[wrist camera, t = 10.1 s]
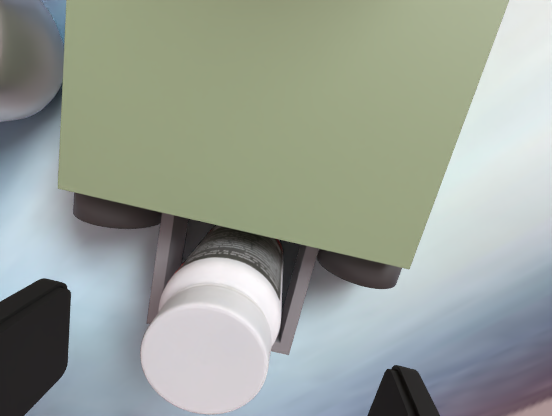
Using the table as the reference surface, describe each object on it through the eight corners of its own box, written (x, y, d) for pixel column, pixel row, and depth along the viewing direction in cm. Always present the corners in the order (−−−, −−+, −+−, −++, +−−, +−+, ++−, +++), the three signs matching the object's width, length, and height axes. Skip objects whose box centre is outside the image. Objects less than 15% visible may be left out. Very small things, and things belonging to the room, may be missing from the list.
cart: (469, 3, 14) (570, -71, 9) (353, 340, 18) (378, 415, 13) (131, -81, 13) (41, -205, 8) (98, 282, 18) (27, 337, 13)
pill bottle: (196, 219, 17) (108, 297, 9) (279, 211, 16) (269, 285, 8) (210, 294, 18) (142, 428, 10) (287, 289, 17) (286, 421, 9)
